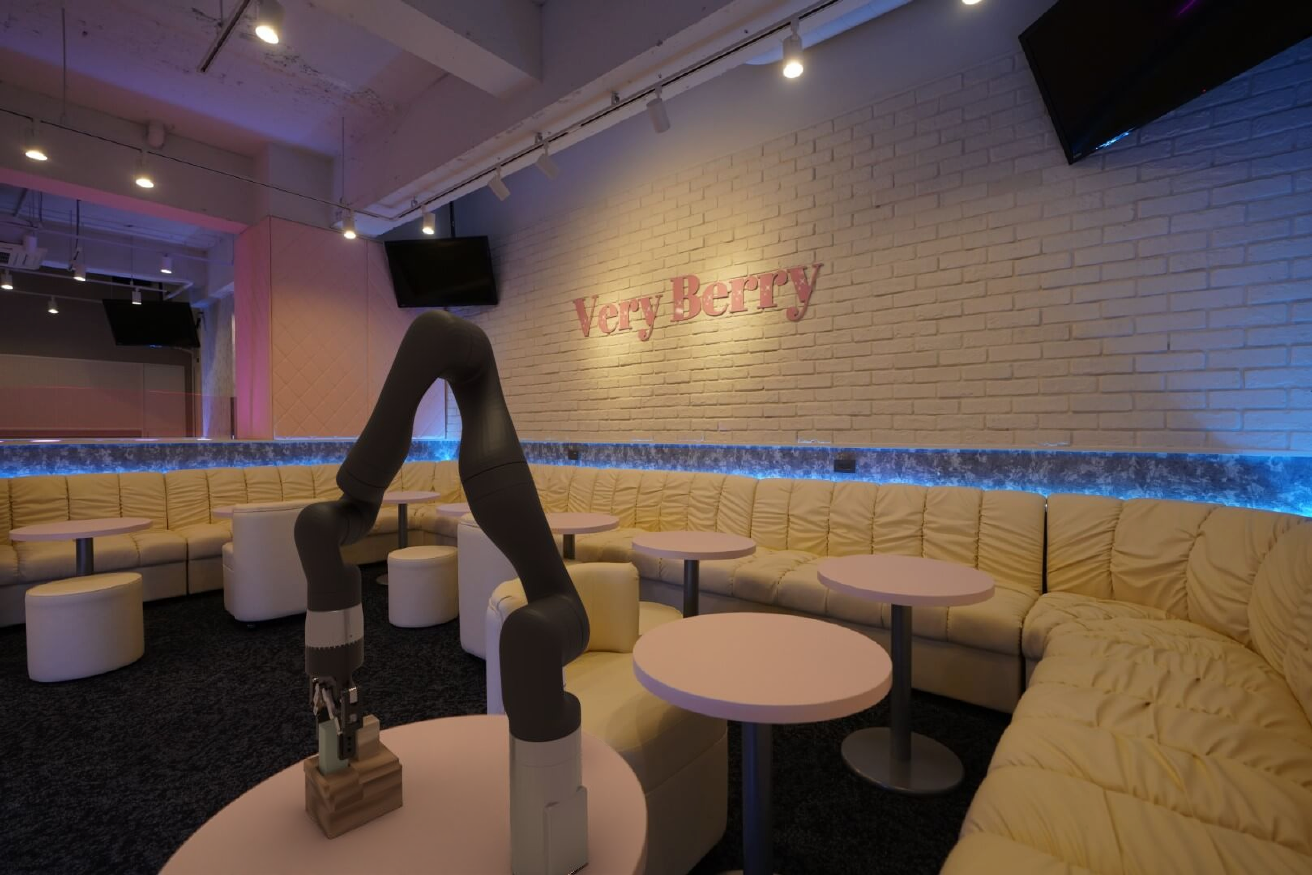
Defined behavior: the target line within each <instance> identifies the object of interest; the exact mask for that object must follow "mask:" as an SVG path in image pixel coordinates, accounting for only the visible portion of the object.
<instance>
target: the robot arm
mask: <svg viewBox="0 0 1312 875" xmlns="http://www.w3.org/2000/svg"><path fill="white" fill-rule="evenodd" d="M497 366H498V365H497V361H496V357H495V354H494V349H493V346H492V343H491V340H490V338H489V337H488V335H487V333H486V332H485V331H484V330H483V328H481V327H480V326H479V325H477V324H476V323H474V322H472V321H470V320H467V319H466V318H463V317H460V316H458V315H457V314H454V313H452V312H449V311H446V310H443V309H438V308H437V309H436V308H433V309H429V310H426V311H424V312H421V313H420V314H418V315H417V316H416V317H415V318H414V319H413V321H412V322H411V323H410V324H409V326H408V328H407V330H406V332H405V334H404V336H403V339H402V340H401V342H400V345H399V347H398V348H397V352H396V355H395V357H394V359H393V362H392V365H391V367H390V370H389V371H388V374H387V376H386V379H385V382H384V384H383V386H382V389H381V390H380V394H379V396H378V397H377V398H378V399H377V401H376V403H375V405H374V409H373V410H372V413H371V415H370V417H369V419H368V421H367V423H366V425H365V426H364V428H363V430H362V431H361V433H360V434H359V437H358V438H357V440H356V442H355V443H354V445H353V446H352V448H351V449H350V451H349V452H348V454H347V455H346V457H345V459H344V460H343V462H342V464H341V465H340V467H339V469H338V471H337V473H336V476H335V482H336V483H335V484H336V485H337V487H338V489H340V491H342V493H343V494H342V495H341V496H340V497H339V498H338V499H337V500H336V499H335V500H329V501H319V502H314V503H310V504H308V505H306V506H305V507H304V508H302V510H300V512H299V513H298V515H297V517H296V520H295V522H294V527H293V539H294V543H295V546H296V550H297V554H298V557H299V560H300V564H301V566H302V570H303V574H304V575H305V578H306V583H307V586H306V587H307V588H306V601H307V603H306V618H305V624H304V625H305V626H304V634H305V635H304V636H305V637H304V638H305V639H304V641H305V642H304V646H305V647H304V649H305V650H304V657H305V658H304V660H305V661H304V663H305V664H304V665H305V666H304V668H305V669H304V671H305V673H306V675H308V676H309V702H308V703H309V706H310V708H313V710H312V711H313V713H314V716H315V731H316V732H315V734H316V740H317V741H318V742H319V724H320V723H323V722H326V721H329V720H334V721H335V724H336V729H337V733H338V734H337V758H338V759H339V760H341V761H343V760H345V759H348V758H350V757H353V756H354V755H355V753H356V730H358V729H361V728H363V717H364V701H363V700H364V698H363V697H364V696H363V695H364V694H363V687H362V684H359V685H355V682H354V680H353V676H352V674H353V672H354V671H356V670H358V669H359V668H360V667H362V666H363V664H364V661H365V660H364V656H365V654H364V652H365V651H364V642H365V641H364V636H365V635H364V632H365V631H364V612H363V605H362V572H361V570H360V567H359V566H358V565H357V564H355V563H350V562H344V560H343V557H342V556H343V555H342V554H341V548H343V547H349V546H352V545H355V544H357V543H359V542H361V541H363V540H364V539H365V537H367V535H368V534H369V533H370V532H371V531H372V529H373V527H374V525H375V523H376V521H377V519H378V515H379V512H380V509H381V507H382V504H383V500H384V497H385V496H384V495H385V494H386V491H387V490H388V488H390V486H391V484H392V482H393V480H395V477H396V476H397V474H398V472H399V471H400V470H401V468H402V467H403V465H404V463H405V461H406V460H407V457H408V455H409V451H410V449H411V446H412V441H413V433H414V432H413V431H414V425H415V418H416V414H417V411H418V408H419V406H420V404H421V401H422V400H423V398H424V396H425V394H426V393H427V392H428V390H429V389H430V388H431V387H432V385H434V383H435V382H436V381H437V380H438V379H441V380H445V381H446V382H447V383H448V385H449V387H450V389H451V391H452V394H453V396H454V399H455V402H456V405H457V408H458V411H459V415H460V419H461V437H460V442H459V451H458V461H457V463H458V464H457V466H458V476H459V480H460V483H461V486H462V490H463V492H464V495H465V496H464V497H465V499H466V502H467V505H468V506H469V511H470V512H471V515H472V517H473V519H474V522H476V524H477V526H478V527H479V528H480V530H481V531H482V532H483V533H484V534H485V536H486V537H487V538H488V539H489V541H490V542H491V543H493V545H494V546H496V548H497V549H498V550H499V551H500V552H501V553H502V554H503V555H504V556H505V557H506V558H507V560H508V561H509V563H510V564H511V565H512V566H513V568H514V570H515V572H516V574H517V576H518V578H519V580H520V581H519V582H520V583H521V586H522V589H523V592H524V595H525V598H526V602H527V604H525V605H523V606H520V607H517V609H514V610H513V611H511V612H510V613H509V615H507V616H506V617H505V620H504V621H503V624H502V626H501V629H500V633H499V639H498V640H499V642H498V655H499V672H500V673H499V675H500V676H499V677H500V688H501V689H500V690H501V701H502V706H503V708H504V711H505V714H506V716H507V719H508V745H509V746H508V750H509V751H508V752H509V753H508V759H509V761H508V763H509V764H508V765H509V767H508V768H509V769H508V770H509V773H508V774H509V833H510V834H509V835H510V836H509V837H510V838H509V839H510V840H509V841H510V869H511V872H512V873H513V875H568V874H570V873H571V872H573V871H575V870H577V869H578V868H580V867H581V868H583V867H584V866H585V865H587V864H588V863H589V827H588V826H589V825H588V823H589V822H588V818H589V817H588V815H589V814H588V813H589V812H588V788H587V787H586V786H584V785H583V771H582V770H583V765H582V764H583V762H582V761H583V757H582V756H583V754H582V749H583V748H582V705H581V701H580V699H579V698H578V696H577V695H576V694H574V693H572V692H571V691H567V690H566V691H564V685H563V667H564V666H566V667H567V666H568V665H569V664H571V663H572V662H574V661H576V660H577V659H578V658H580V657H581V655H583V653H584V652H585V651H586V649H587V648H588V645H589V642H590V638H591V625H590V620H589V616H588V614H587V611H586V608H585V605H584V602H583V601H582V599H581V596H580V595H579V592H578V590H577V588H576V586H575V584H574V582H573V579H572V578H571V576H570V573H569V572H568V569H567V567H566V565H565V563H564V561H563V558H562V556H561V553H560V551H559V549H558V547H557V543H556V540H555V538H554V535H553V532H552V530H551V527H550V524H549V521H548V519H547V516H546V513H545V511H544V508H543V505H542V502H541V499H540V497H539V493H538V489H537V486H536V483H535V481H534V478H533V475H532V471H531V469H530V466H529V464H528V460H527V459H526V458H527V457H526V456H525V454H524V451H523V448H522V445H521V443H520V440H519V439H520V438H519V437H518V434H517V431H516V428H515V425H514V421H513V419H512V416H511V415H510V412H509V409H508V408H509V407H508V406H507V402H506V400H505V396H504V392H503V388H502V384H501V383H502V382H501V379H500V374H499V371H498V367H497ZM341 718H342V720H341ZM349 720H350V721H349ZM586 863H587V864H586ZM584 864H585V865H584ZM583 865H584V866H583ZM582 866H583V867H582ZM581 868H580V869H581ZM578 870H579V869H578ZM578 870H577V871H578Z"/></svg>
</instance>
